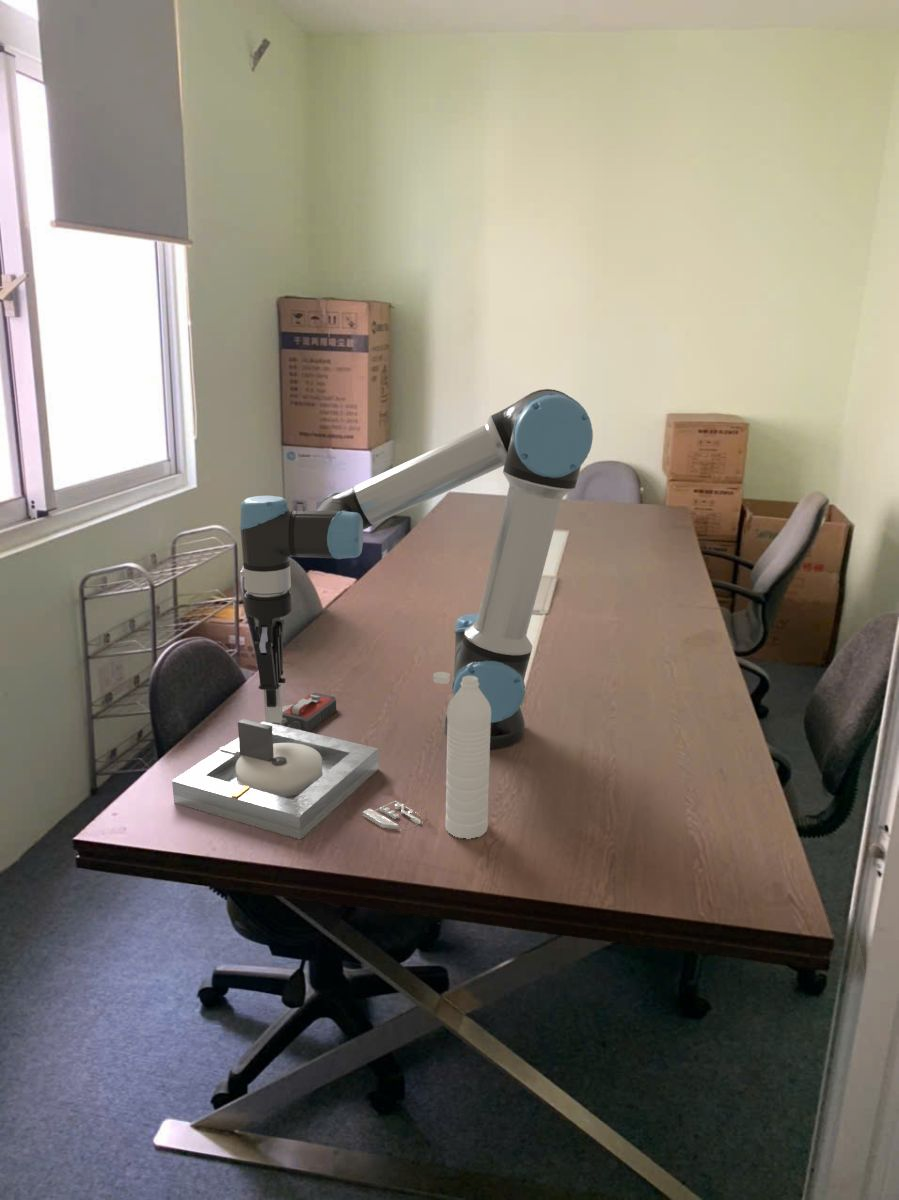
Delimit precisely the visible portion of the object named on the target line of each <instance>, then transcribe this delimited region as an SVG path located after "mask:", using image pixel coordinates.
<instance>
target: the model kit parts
mask: <svg viewBox="0 0 899 1200" xmlns="http://www.w3.org/2000/svg"><path fill="white" fill-rule="evenodd" d="M395 802H396V803H395ZM393 803H395V804H394V809H395V810H401V811H400V812H401V814H403V815H405V816H407V817H408V818H410V821H411V820H412V821H413V822H412V821H411V822H412V823H414V822H415V823H414V824H416V823H417V824H420V823H421V822H422V821H421V818H419V817H416V815H418V814H419V812H416V811H415V813H414V812H413V811H414V810H413V809H411V808H409V807H408V806H406V805H405V804H404V803H401V802H400V801H398V800H394V801H392V802H389V803H386V804H385V805H382V806H381V807H379V808H377V809H374V810H373V809H372V808H370V807H369V808H367V809H366V810H364V811H362V817H363V816H364V817H365V818H364V817H363V818H364V819H366V818H367V819H366V820H368V821H369V820H370V821H369V822H371V821H372V822H371V823H373V822H374V823H375V825H376V824H377V825H379V826H380V827H379V826H378V827H379V828H381V827H382V828H388V829H387V830H391V829H400V828H399V827H400V826H399V824H398V823H396V822H394V821H392V820H391V819H393V818H394V819H396V818H398V819H399V818H400V815H399V813H398V812H396V811H395V810H394V809H392V810H391V808H390V807H389V805H391V804H393ZM405 808H406V809H408V810H405ZM378 810H379V811H380V812H381V813H382V814H384V815H386V816H388V817H389V816H390V818H391V817H392V818H391V819H389V818H387V817H386V816H384V815H382V814H381V813H379V812H377V811H378ZM395 812H396V813H395ZM410 813H411V814H410ZM413 813H414V814H416V813H417V814H416V815H413ZM394 819H393V820H394ZM396 820H397V819H396ZM374 823H373V824H374ZM417 824H416V825H417ZM377 825H376V826H377ZM420 825H421V824H420ZM382 828H381V829H382ZM389 828H391V829H389Z"/></svg>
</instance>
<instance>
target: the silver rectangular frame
mask: <svg viewBox="0 0 899 1200" xmlns="http://www.w3.org/2000/svg"><path fill="white" fill-rule="evenodd" d="M260 723H261V724H265V725H270V726H272V734H273V744H274V743H297V744H302V745H306V746H309V747H311V748H313V749H315V750H316V751H318V752H319V753H320V755H321V757H322V776H321V777H320V778H319V779H318V780H317V781H315V782H314V783H313V784H312V785H310V786H309V787H308V788H307V789H306V790H304V791H303V792H302V793H299V794H296V795H292V796H287V797H281V796H277V795H273V794H270V793H266V792H262V791H259V790H255V789H251V788H249V787H248V786H240V785H238V784H237V779H236V763H237V760H238V759H239V758H240V757H241V756H242V755H240V748H239V736H238V737H236V738H235V739H233V741H231V742H229V743H228V744H225V746H221V747H219V749H218V750H217V751H216V752H214V753H212V754H211V755H209V756H207V757H206V758H205V759H202V760H201V761H199V762H198V763H196V765H194V766H192V767H191V768H190V769H188V770H186V771H185V772H184V773H182V774H179V776H177V777H176V778H174V779H172V781H171V782H172V783H171V785H172V793H173V794H172V795H173V803H174V804H176V805H180V806H184V807H187V808H191V809H193V808H194V809H193V810H197V809H198V811H200V810H201V812H203V811H204V813H208V814H210V813H211V815H214V816H217V817H221V818H225V819H228V820H232V821H235V822H239V823H242V824H244V823H245V824H244V825H248V824H249V825H248V826H251V825H252V827H255V826H256V828H258V827H259V829H261V828H262V830H265V829H266V831H268V830H269V832H272V833H275V832H276V833H275V834H278V833H279V835H282V836H285V835H286V836H287V837H289V836H290V837H289V838H292V837H293V839H295V838H297V839H296V840H299V839H301V838H302V839H303V838H304V837H306V835H307V834H308V832H309V833H310V832H311V831H312V830H313V829H314V828H315V827H316V826H317V825H318V824H319V823H321V822H322V821H323V820H324V819H325V818H326V817H327V816H329V814H331V813H332V812H333V811H334V810H335V809H336V808H338V806H340V805H341V804H342V803H343V802H345V800H347V798H349V796H351V795H352V794H353V793H354V792H356V790H357V789H358V788H360V787H361V786H362V785H363V784H364V783H365V782H366V781H367V780H368V779H370V778H371V777H372V776H373V775H374V774H375V773H376V772H377V771H379V748H377V747H374V746H369V745H365V744H361V743H357V742H353V741H348V740H344V739H339V738H336V737H332V736H327V735H323V734H319V733H314V732H310V731H309V732H306V731H302V730H298V729H293V728H289V727H285V726H281V725H277V724H272V723H265V720H264V721H261V722H260ZM310 830H311V831H310ZM286 836H285V837H286ZM302 839H301V840H302Z"/></svg>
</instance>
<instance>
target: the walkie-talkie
mask: <svg viewBox="0 0 899 1200" xmlns="http://www.w3.org/2000/svg"><path fill="white" fill-rule="evenodd" d="M336 712H337V699H336V697H335V696H333V695H329V694H323V693H320V692H313V693H308V695H306V696H305V697H303V698H301V699H300V700H299V701H297V702H296V703H293V704H288V705H284V706H283V705H282V717H283V719H282V722H281V723H272V724H276V725H281V726H285V727H289V728H293V729H298V730H302V731H306V732H310V731H312V729H314V728H315V727H316V726H318V725H320V724H321V722H324V721H325V720H326V719H327V718H329V717H330V716H331V715H333V714H334V713H336Z"/></svg>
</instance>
